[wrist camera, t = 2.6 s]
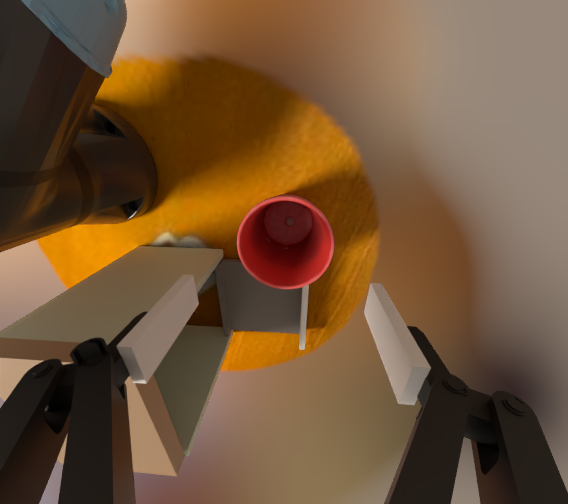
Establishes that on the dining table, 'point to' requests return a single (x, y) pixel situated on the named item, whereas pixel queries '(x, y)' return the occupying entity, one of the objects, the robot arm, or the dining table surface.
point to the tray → (259, 303)
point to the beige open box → (108, 324)
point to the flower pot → (285, 242)
